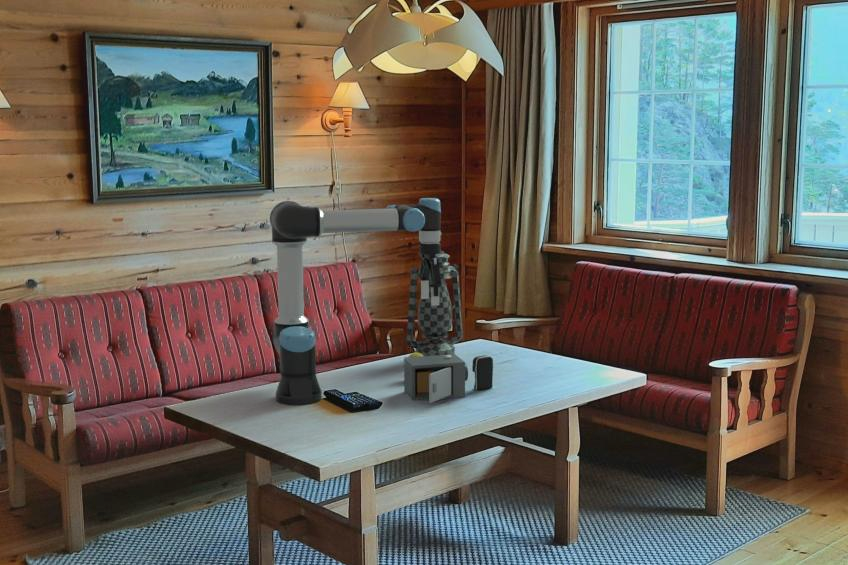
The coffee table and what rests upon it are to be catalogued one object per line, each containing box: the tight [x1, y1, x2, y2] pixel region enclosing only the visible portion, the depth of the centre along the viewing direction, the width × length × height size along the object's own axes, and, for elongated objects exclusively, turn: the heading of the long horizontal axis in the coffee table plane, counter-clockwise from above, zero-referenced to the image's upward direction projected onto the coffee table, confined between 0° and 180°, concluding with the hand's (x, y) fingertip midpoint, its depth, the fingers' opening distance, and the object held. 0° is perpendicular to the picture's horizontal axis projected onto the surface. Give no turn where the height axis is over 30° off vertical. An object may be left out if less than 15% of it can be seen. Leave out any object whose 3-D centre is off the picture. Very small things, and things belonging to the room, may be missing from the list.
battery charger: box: [471, 354, 494, 391], centre depth 351 cm, size 7×4×11 cm, turn 125°
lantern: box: [406, 250, 464, 356], centre depth 387 cm, size 24×18×45 cm
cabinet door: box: [428, 367, 451, 404], centre depth 333 cm, size 12×1×9 cm, turn 145°
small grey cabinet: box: [403, 353, 469, 402], centre depth 343 cm, size 20×12×13 cm, turn 105°
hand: (430, 302), depth 360 cm, fingers open, 13 cm apart
